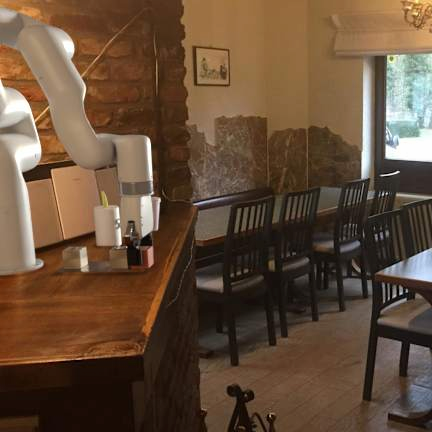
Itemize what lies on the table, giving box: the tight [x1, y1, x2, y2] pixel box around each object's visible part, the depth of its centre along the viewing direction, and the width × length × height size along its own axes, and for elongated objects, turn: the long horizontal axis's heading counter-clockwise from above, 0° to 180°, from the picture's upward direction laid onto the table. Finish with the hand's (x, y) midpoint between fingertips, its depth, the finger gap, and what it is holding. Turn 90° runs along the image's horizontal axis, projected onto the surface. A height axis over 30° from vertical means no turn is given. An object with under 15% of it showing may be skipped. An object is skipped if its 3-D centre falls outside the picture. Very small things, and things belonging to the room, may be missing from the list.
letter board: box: [56, 260, 147, 273], centre depth 150 cm, size 20×9×1 cm, turn 94°
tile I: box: [61, 246, 89, 269], centre depth 149 cm, size 4×4×4 cm
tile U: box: [108, 245, 130, 269], centre depth 149 cm, size 4×4×4 cm
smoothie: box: [151, 196, 162, 232], centre depth 188 cm, size 6×6×14 cm
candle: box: [92, 190, 122, 247], centre depth 170 cm, size 6×6×15 cm
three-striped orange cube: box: [131, 245, 154, 269], centre depth 150 cm, size 4×4×4 cm
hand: (141, 260), depth 150 cm, fingers open, 8 cm apart
